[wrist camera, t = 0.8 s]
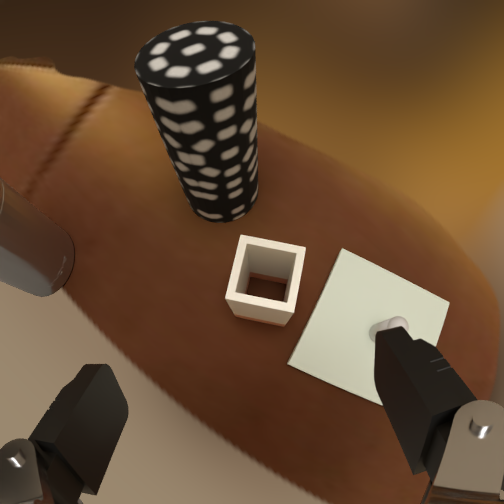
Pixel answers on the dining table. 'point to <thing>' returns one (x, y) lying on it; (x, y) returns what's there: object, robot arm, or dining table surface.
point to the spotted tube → (206, 113)
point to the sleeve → (267, 268)
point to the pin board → (362, 323)
